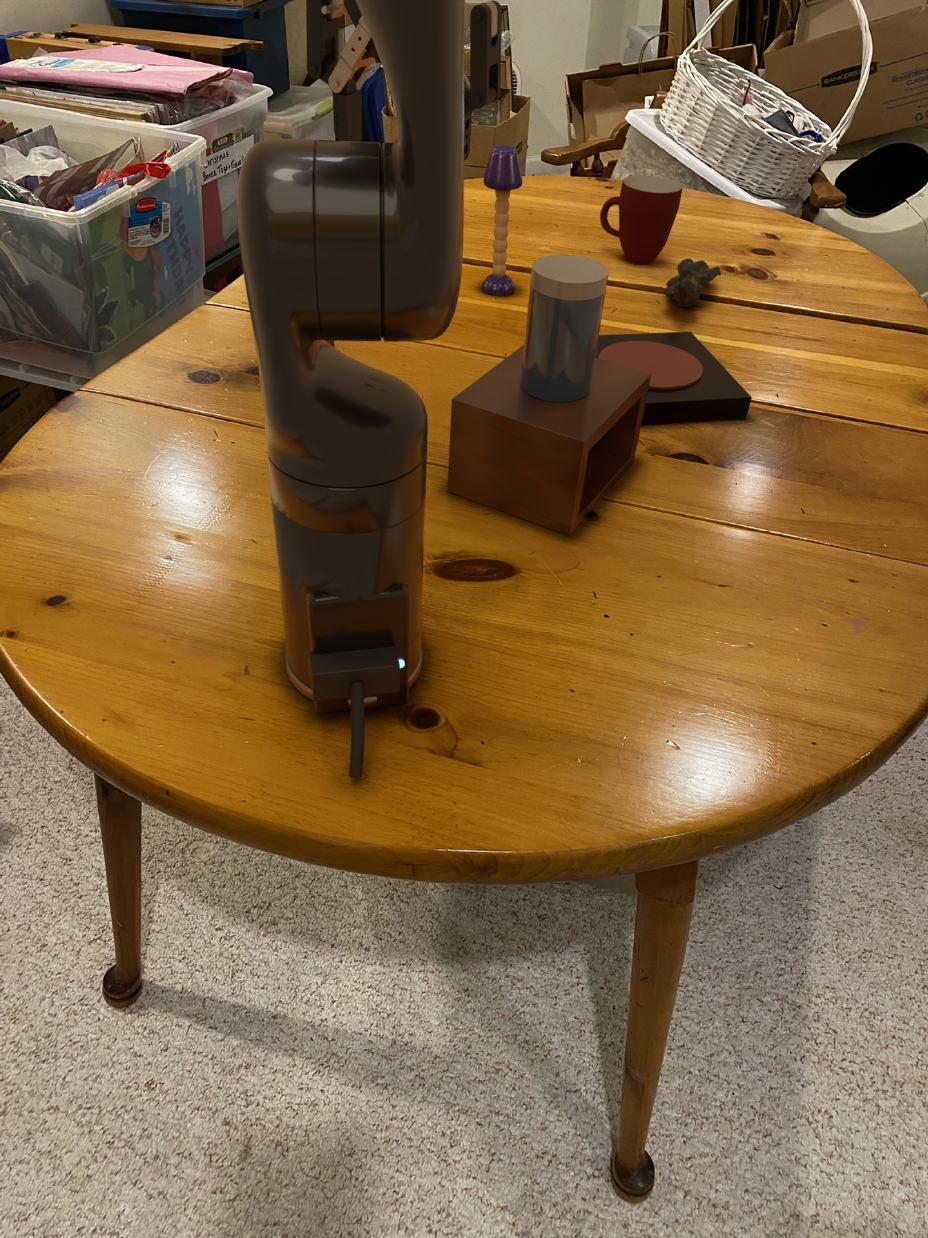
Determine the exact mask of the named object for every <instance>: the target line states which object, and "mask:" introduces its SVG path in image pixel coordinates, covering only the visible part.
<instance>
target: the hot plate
mask: <svg viewBox="0 0 928 1238" xmlns="http://www.w3.org/2000/svg"><path fill="white" fill-rule="evenodd" d="M595 358H598V359H601V360H605V361H608V362H612V363H615V364H619V365H622V366H625V367H629V368H632V369H636V370H639V371H643V372H646V373H650V374H651V379H650V384H649V389H648V393H647V398H646V403H645V408H644V413H643V418H642V423H641V426H657V425H672V424H673V425H674V424H688V423H705V422H722V421H725V422H726V421H740V420H741V421H742V420H747V416H748V413H749V410H750V405H751V402H752V399H753V397H752V396H751V395H750V394H749V393H748V391H747V390H746V389H745V388H744V387H743V386H742V385H741V384H740V383H739V382H738V381H737V380H736V379H735V377H734V376H733V374H731V373H730V372H729V371H728V369H726V368H725V367H724V366H723V364H722V363H721V362H720V361H719V360H718V359H717V358H716V357H715V356H714V354H712V353H711V351H709V349H708V348H707V347H706V346H705V345H704V344H703V343H702V342H701V341H700V340H699V339H698V338H697V336H695V334H693V332H692V331H673V332H671V331H670V332H669V331H668V332H643V333H618V334H599V337H598V344H597V350H596V356H595Z"/></svg>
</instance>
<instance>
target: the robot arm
mask: <svg viewBox="0 0 928 1238" xmlns="http://www.w3.org/2000/svg"><path fill="white" fill-rule="evenodd" d="M305 4H306V5H305V10H306V11H305V15H306V16H305V18H306V19H305V20H306V21H305V23H306V25H305V26H306V28H305V29H306V30H305V31H306V33H305V35H306V72H307V74H308V76H309V77H310V78H312V79H314V80H316V79H319V80H320V81H322V82H323V83H325V84H326V85H327V86H328V87H329V89H330V91H331V95H332V116H333V117H332V119H333V133H334V135H335V139H336V140H333V139H332V140H330V139H305V138H269V139H268V138H267V139H262V140H260V141H257V142H256V143H255V144H253V145H252V146H251V147H250V148H249V149H248V150H247V152H246V154H245V157H244V159H243V161H242V163H241V167H240V171H239V175H238V182H237V191H236V192H237V193H236V210H237V211H236V212H237V213H236V214H237V235H238V242H239V250H240V251H239V252H240V256H241V257H240V259H241V265H242V274H243V279H244V285H245V291H246V299H247V304H248V309H249V316H250V321H251V325H252V326H251V327H252V334H253V341H254V347H255V354H256V361H257V369H258V377H259V388H260V398H261V405H262V416H263V425H264V438H265V448H266V449H265V450H266V460H267V470H268V480H269V489H270V502H271V503H270V504H271V510H272V511H271V515H272V524H273V533H274V543H275V555H276V565H277V573H278V574H277V575H278V583H279V584H278V585H279V595H280V605H281V616H282V625H283V632H284V641H285V642H284V643H285V650H284V655H285V659H284V660H285V668H286V673H287V676H288V679H289V680H290V683H291V684H292V685H293V686H294V688H295V689H296V690H297V691H298V692H299V693H300V694H302V695H303V696H304V697H306V698H307V699H309V700H311V701H313V705H314V710H315V712H316V713H317V714H318V713H319V714H321V713H322V714H323V713H331V712H339V711H340V712H342V711H349V710H350V720H351V721H350V723H351V725H350V730H351V731H350V733H351V734H350V736H351V737H350V756H349V766H348V767H349V769H348V776H349V777H350V778H354V779H359V778H362V777H363V771H364V769H363V768H364V756H365V740H366V736H365V734H366V729H365V728H366V725H365V724H366V721H365V709H369V708H370V709H371V708H376V707H383V706H384V707H385V706H393V705H401V704H406V703H408V702H409V694H410V693H409V690H410V688H411V687H412V686H413V685H414V684H415V682H416V681H417V680H418V677H419V676H420V673H421V670H422V665H423V664H422V663H423V647H422V646H423V645H422V623H423V622H422V621H423V620H422V619H423V618H422V615H423V613H422V612H423V588H424V587H423V584H424V582H423V581H424V553H425V552H424V551H425V523H426V522H425V519H426V518H425V517H426V493H427V470H428V469H427V468H428V467H427V463H428V437H429V436H428V435H429V434H428V433H429V432H428V431H429V423H428V422H429V419H428V412H427V408H426V405H425V402H424V401H423V399H422V398H421V396H420V395H419V394H418V392H417V391H416V390H415V389H414V388H413V387H412V386H410V384H408V383H406V382H405V381H403V380H402V379H400V378H398V377H397V376H394V375H392V374H390V373H388V372H385V371H383V370H380V369H379V368H376V367H373V366H370V365H368V364H365V363H363V362H360V361H358V360H356V359H354V358H352V357H350V356H348V355H347V354H346V353H343V352H342V351H340V350H339V349H337V348H336V347H335V346H334V347H333V346H332V345H330V344H329V343H328V342H327V341H334V342H370V343H371V342H375V343H377V342H379V343H381V342H382V339H383V342H384V343H417V342H425V341H432V340H435V339H438V338H440V337H441V336H443V335H444V333H446V332H447V331H448V329H449V327H450V325H451V324H452V320H453V318H454V315H455V314H456V309H457V306H458V302H459V298H460V289H461V284H462V273H463V262H464V238H465V237H464V236H465V234H464V233H465V229H464V227H465V161H466V160H467V159H468V157H469V156H470V153H471V139H472V138H471V136H472V119H473V113H474V112H475V110H481V109H483V108H485V107H486V106H488V105H490V104H493V103H495V102H497V101H499V99H500V97H501V75H502V33H503V32H502V30H503V8H502V5H501V3H500V2H498V1H497V0H488V1H487V0H486V1H484V2H467V1H466V0H305ZM344 10H345V11H346V12H347V15H348V16H349V18H350V20H351V22H352V24H353V26H354V28H355V29H354V30H353V31H352V34H351V35H350V36H349V38H348V40H347V41H346V44H345V45H344V47H343V48H342V50H341V52H339V51H340V50H339V47H340V44H339V43H340V18H341V17H342V15H344ZM465 38H466V39H467V40H468V41H469V78H468V76H467V74H466V72H465V40H466V39H465ZM339 53H340V54H339ZM339 58H340V59H339ZM374 63H375V64H381V66H382V69H383V71H384V74H385V78H386V81H387V84H388V88H389V91H390V95H391V98H392V102H393V106H394V110H395V115H396V119H397V124H398V130H399V133H398V138H397V139H396V140H395V141H394V142H385V141H383V142H382V145H381V142H379V141H363V117H362V116H363V109H362V107H363V104H362V101H363V99H362V98H363V97H362V89H358V88H357V86H358V85H359V84H360V82H361V81H362V80H363V77H364V76H365V74H366V73H367V71H368V70H369V68H370V67H371V66H372V65H373V64H374Z"/></svg>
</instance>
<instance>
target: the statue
mask: <svg viewBox="0 0 928 1238" xmlns="http://www.w3.org/2000/svg"><path fill="white" fill-rule="evenodd" d="M676 270H677V273H678V275H675V276H672V277H671V278H670V279H669V280H668V281H667V282H666V285H665V286H666V287H665V288H664V295H665V296H666V297H667V298H668V299H672V300H673V299H674V300H675V301H676V302H677V304H678V305H679V306H681V307H682V308H690V307H692V306H694V305H695V304H697V302H698V301H699V299H700V298H701V297H700V296H701V292H702V290H703V286H705V285H706V284H708V283H710V282H712V281H713V280H714V279H715V278H716V277H718V276H719V277H721V276H722V272H721V269H720V266H714V267H712V268H710V266H709V265H708V263H707V262H706V261H705V260H704V259H703V260H702V259H701V260H697V261H694V260H693V259H691V258H684V259H683V260H681V261H680V262H679V263H678V264H677V267H676Z"/></svg>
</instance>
